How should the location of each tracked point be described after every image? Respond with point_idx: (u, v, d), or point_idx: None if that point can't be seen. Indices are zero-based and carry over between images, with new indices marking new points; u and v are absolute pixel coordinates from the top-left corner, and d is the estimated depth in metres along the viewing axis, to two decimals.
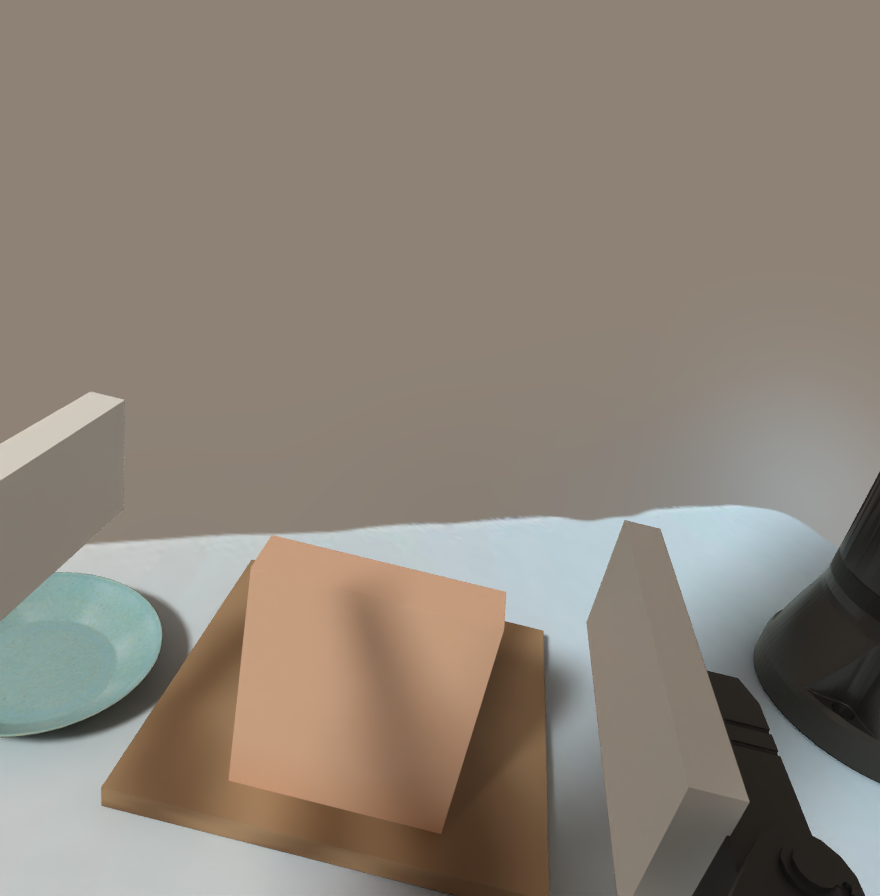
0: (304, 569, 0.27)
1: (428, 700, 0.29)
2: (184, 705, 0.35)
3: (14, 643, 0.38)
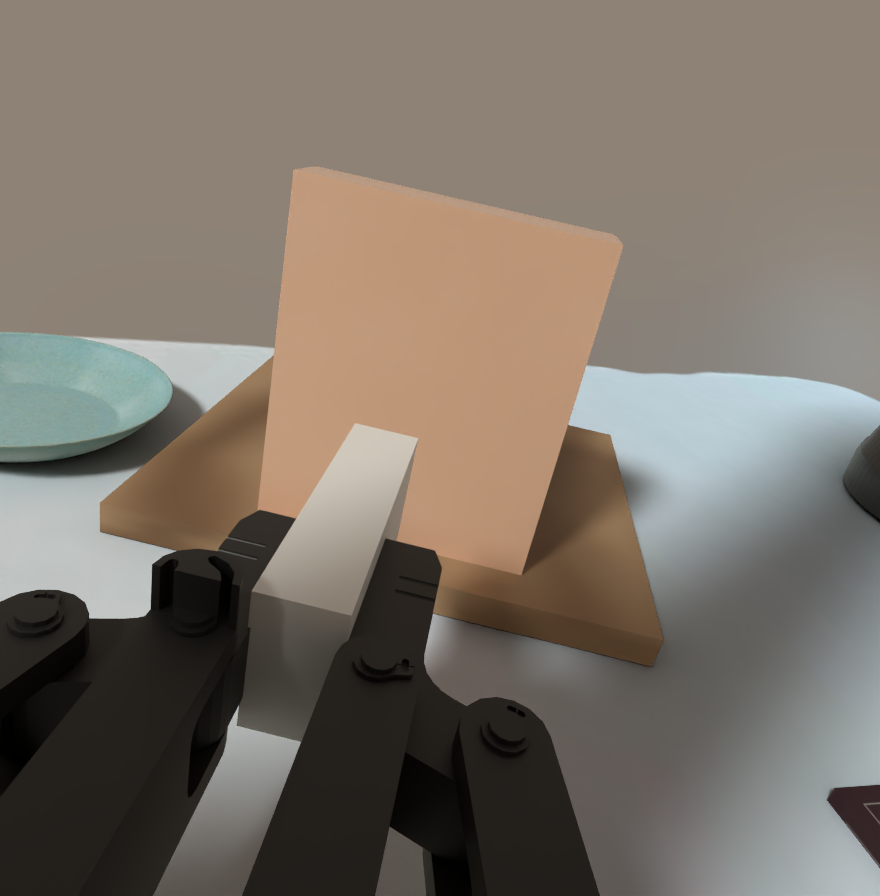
0: (361, 182, 0.21)
1: (517, 368, 0.22)
2: (200, 450, 0.29)
3: None
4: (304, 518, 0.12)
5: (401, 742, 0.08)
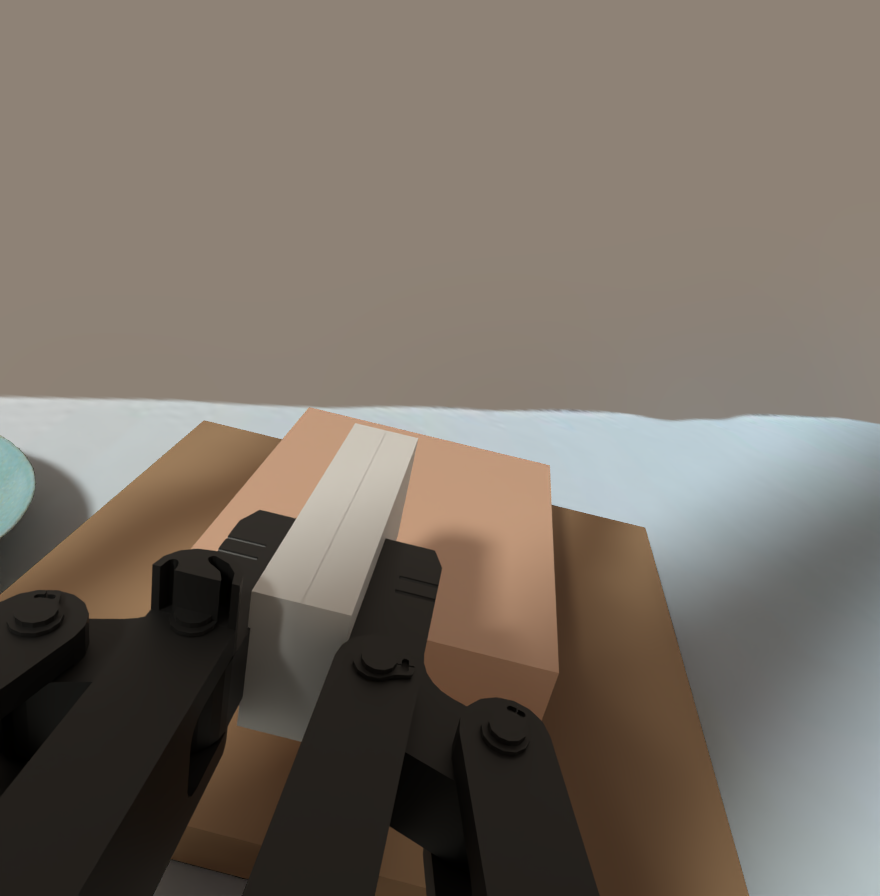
0: None
1: (493, 505, 0.24)
2: None
3: None
4: (304, 518, 0.12)
5: (401, 742, 0.08)
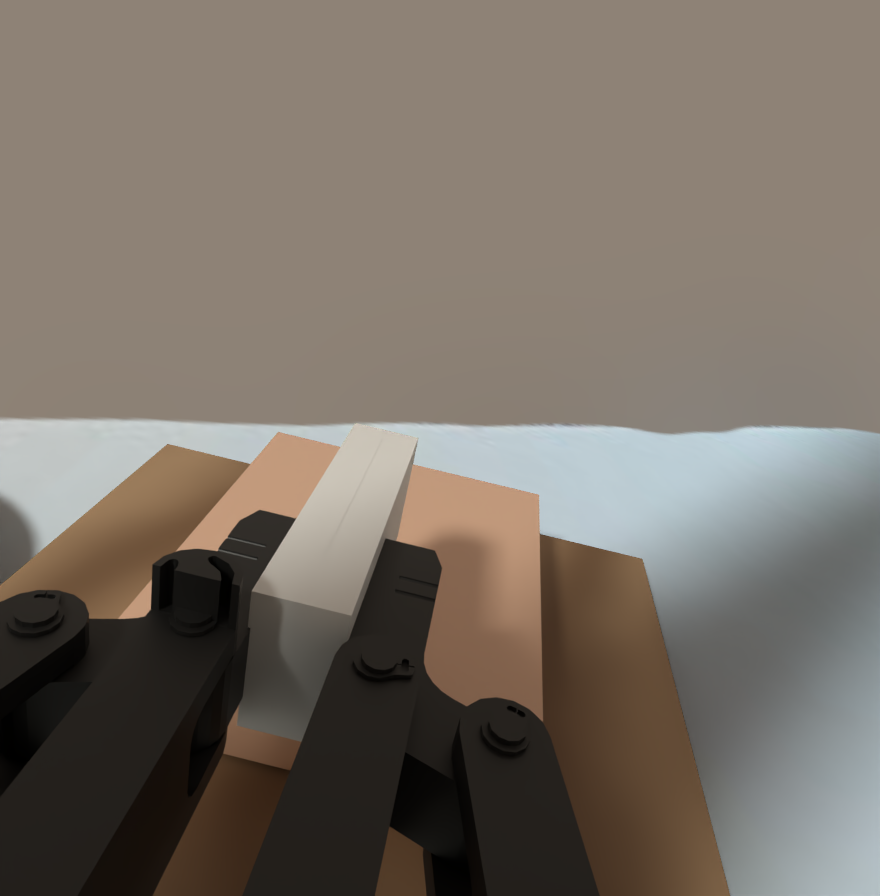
0: None
1: (475, 543, 0.22)
2: None
3: None
4: (304, 518, 0.12)
5: (401, 742, 0.08)
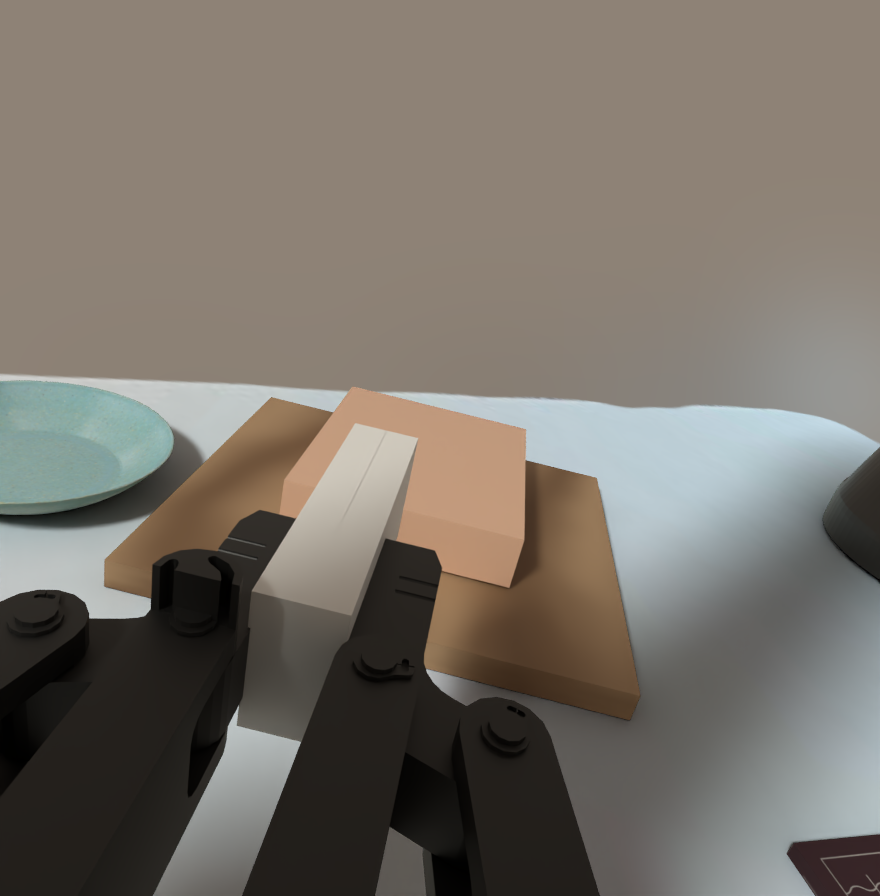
0: None
1: (485, 451, 0.35)
2: (200, 501, 0.30)
3: (3, 444, 0.33)
4: (304, 518, 0.12)
5: (401, 742, 0.08)
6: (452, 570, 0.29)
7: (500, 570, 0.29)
